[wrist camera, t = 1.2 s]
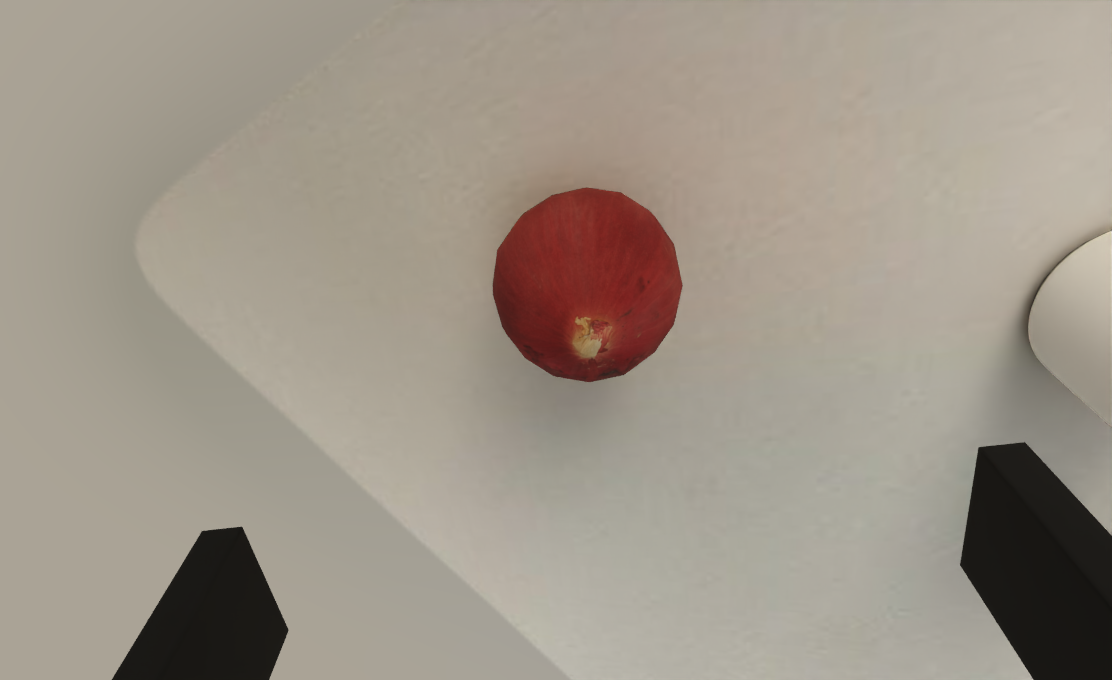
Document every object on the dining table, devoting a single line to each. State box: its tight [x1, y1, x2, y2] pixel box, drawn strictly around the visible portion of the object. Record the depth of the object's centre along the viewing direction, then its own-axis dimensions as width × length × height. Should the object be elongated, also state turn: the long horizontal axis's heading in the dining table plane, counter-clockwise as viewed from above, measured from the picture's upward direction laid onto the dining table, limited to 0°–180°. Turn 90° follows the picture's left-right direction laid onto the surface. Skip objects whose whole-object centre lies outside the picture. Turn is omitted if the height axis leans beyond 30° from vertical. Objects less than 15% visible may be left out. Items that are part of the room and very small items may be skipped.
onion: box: [493, 188, 682, 382], centre depth 23 cm, size 6×6×8 cm
